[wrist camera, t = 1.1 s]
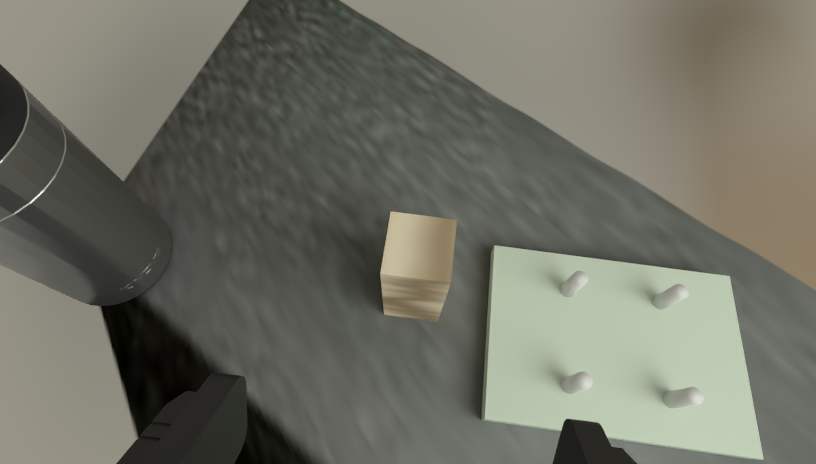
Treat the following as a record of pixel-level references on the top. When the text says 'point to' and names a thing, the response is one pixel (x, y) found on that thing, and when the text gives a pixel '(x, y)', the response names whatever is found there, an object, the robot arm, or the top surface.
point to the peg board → (617, 352)
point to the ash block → (417, 265)
